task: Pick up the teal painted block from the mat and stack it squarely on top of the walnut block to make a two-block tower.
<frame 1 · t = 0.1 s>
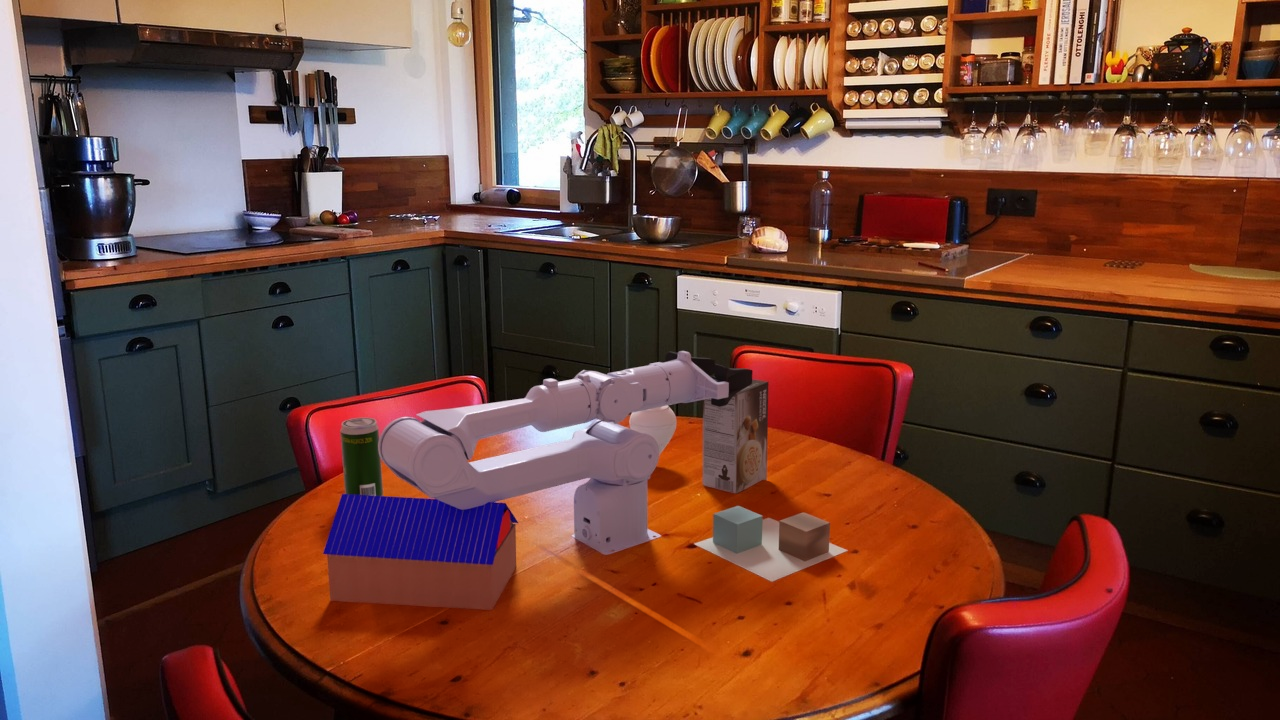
hand: (731, 371, 137), 20 cm above the table, tool horizontal, fingers open, 7 cm apart
teal block: (737, 543, 126), point 1 cm above the table, touching mat
beer can: (364, 501, 143), on the table
mat: (770, 551, 125), on the table
spinning top: (652, 465, 158), on the table
house: (427, 590, 117), on the table, touching arm
walnut block: (803, 550, 124), point 1 cm above the table, touching mat
coffee box: (734, 486, 149), on the table
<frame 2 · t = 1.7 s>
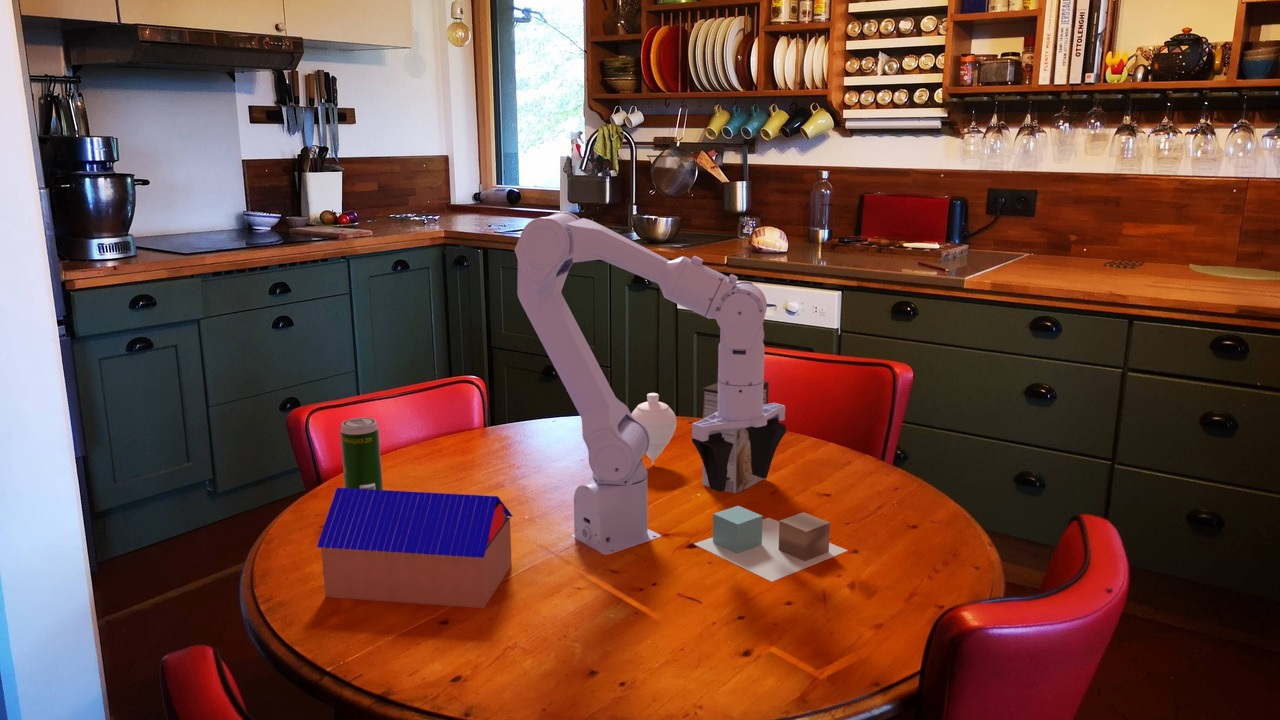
hand: (738, 482, 124), 9 cm above the table, tool pointing down, fingers open, 7 cm apart
house: (421, 583, 118), on the table
everything else where it was.
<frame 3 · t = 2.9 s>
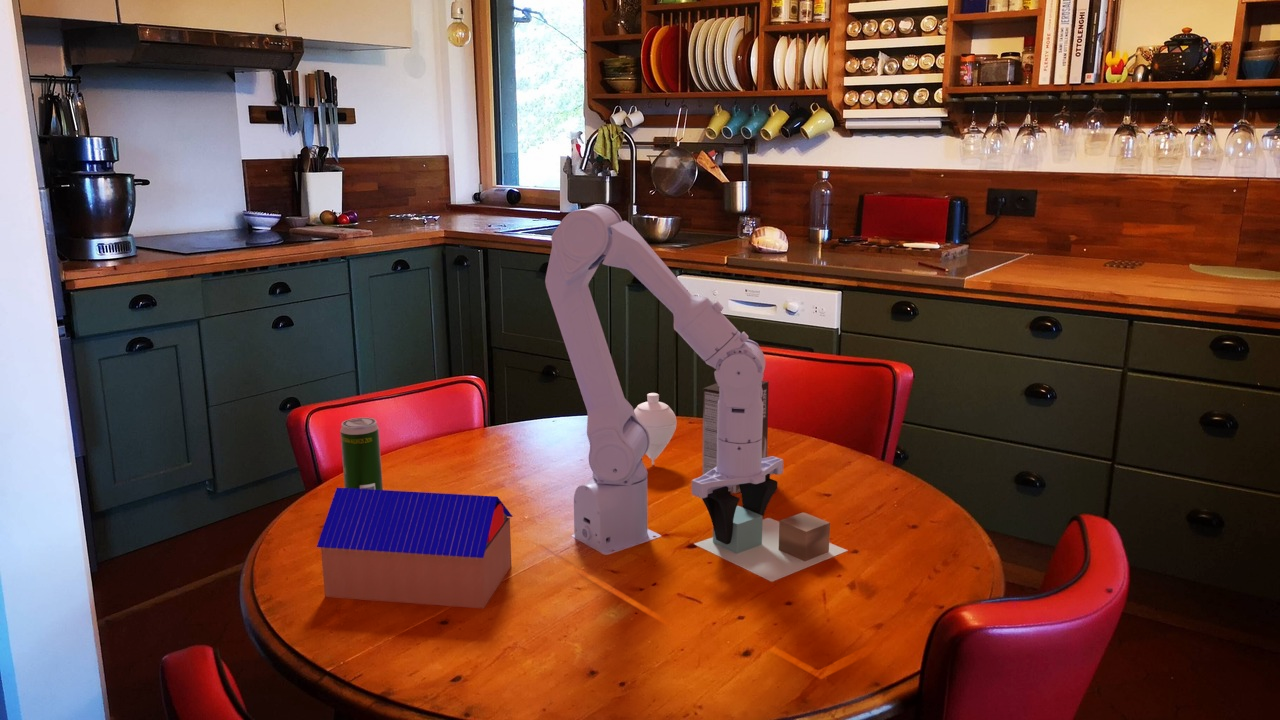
hand: (737, 536, 126), 2 cm above the table, tool pointing down, fingers closed on teal block, 4 cm apart
teal block: (737, 543, 126), point 1 cm above the table, touching gripper, mat
everything else where it was.
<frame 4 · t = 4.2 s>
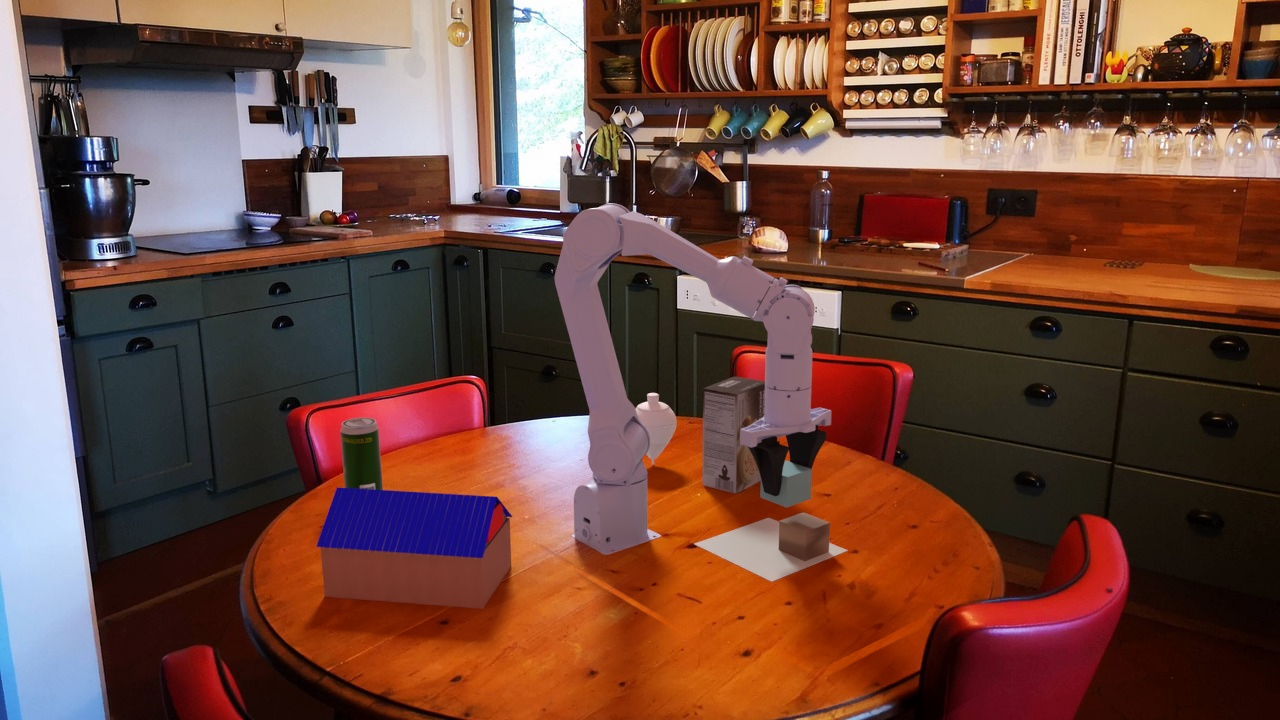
hand: (785, 488, 123), 9 cm above the table, tool pointing down, fingers closed on teal block, 4 cm apart
teal block: (785, 498, 123), point 8 cm above the table, touching gripper
everything else where it was.
when the fingers open (7 cm above the table, at t = 5.3 s): teal block stays where it is, resting on walnut block.
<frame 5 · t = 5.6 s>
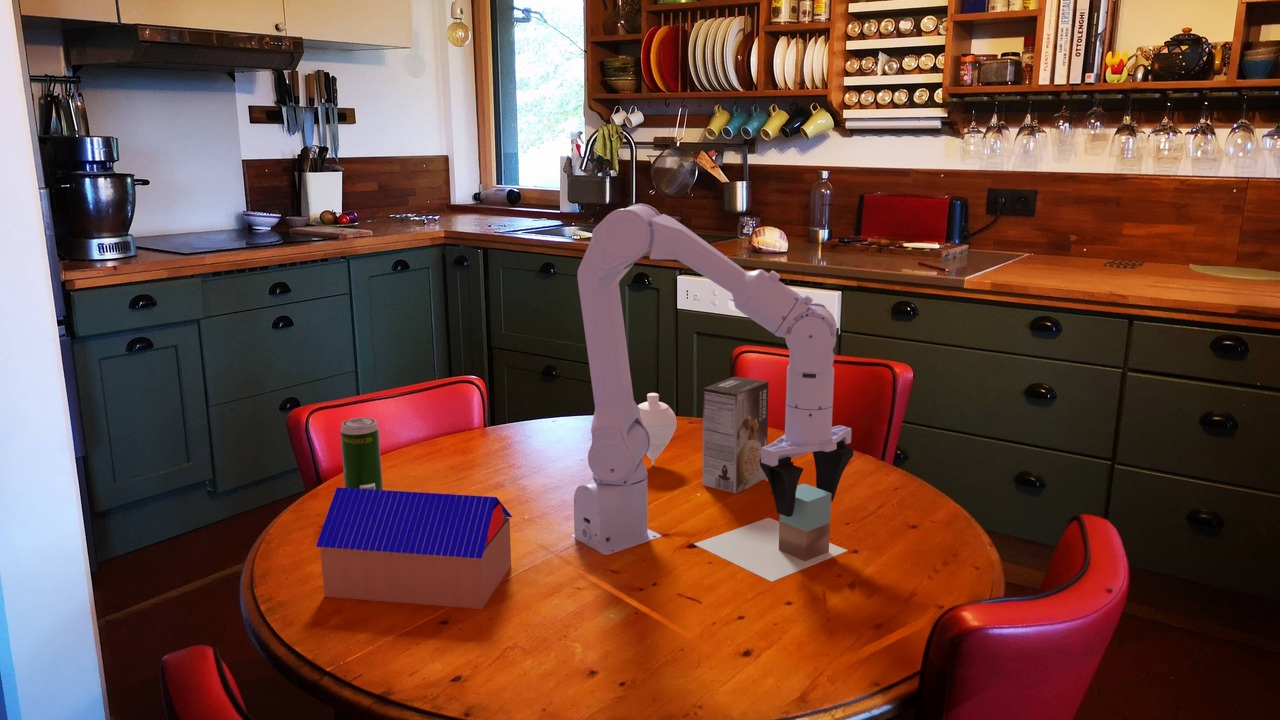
hand: (805, 506, 123), 7 cm above the table, tool pointing down, fingers open, 7 cm apart
teal block: (804, 521, 123), point 5 cm above the table, touching walnut block
walnut block: (803, 550, 124), point 1 cm above the table, touching mat, teal block
everything else where it was.
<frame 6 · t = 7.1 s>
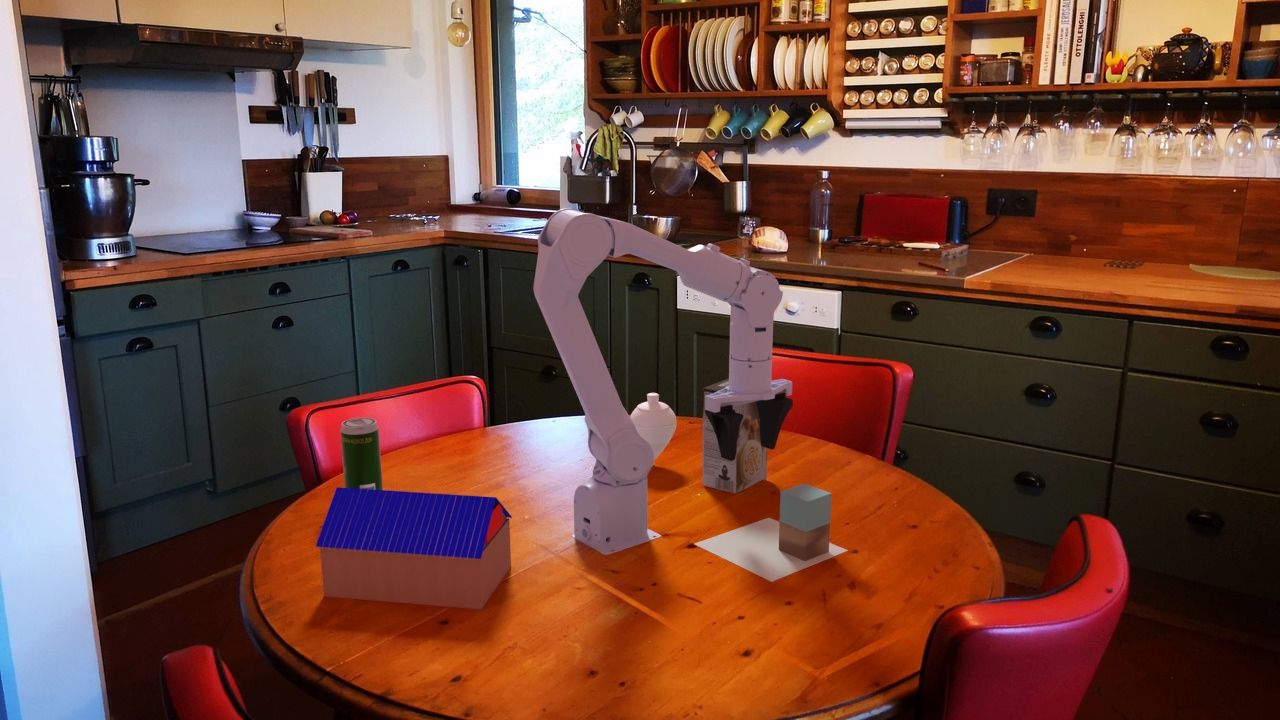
hand: (748, 452, 133), 10 cm above the table, tool pointing down, fingers open, 7 cm apart
nothing on the table moved.
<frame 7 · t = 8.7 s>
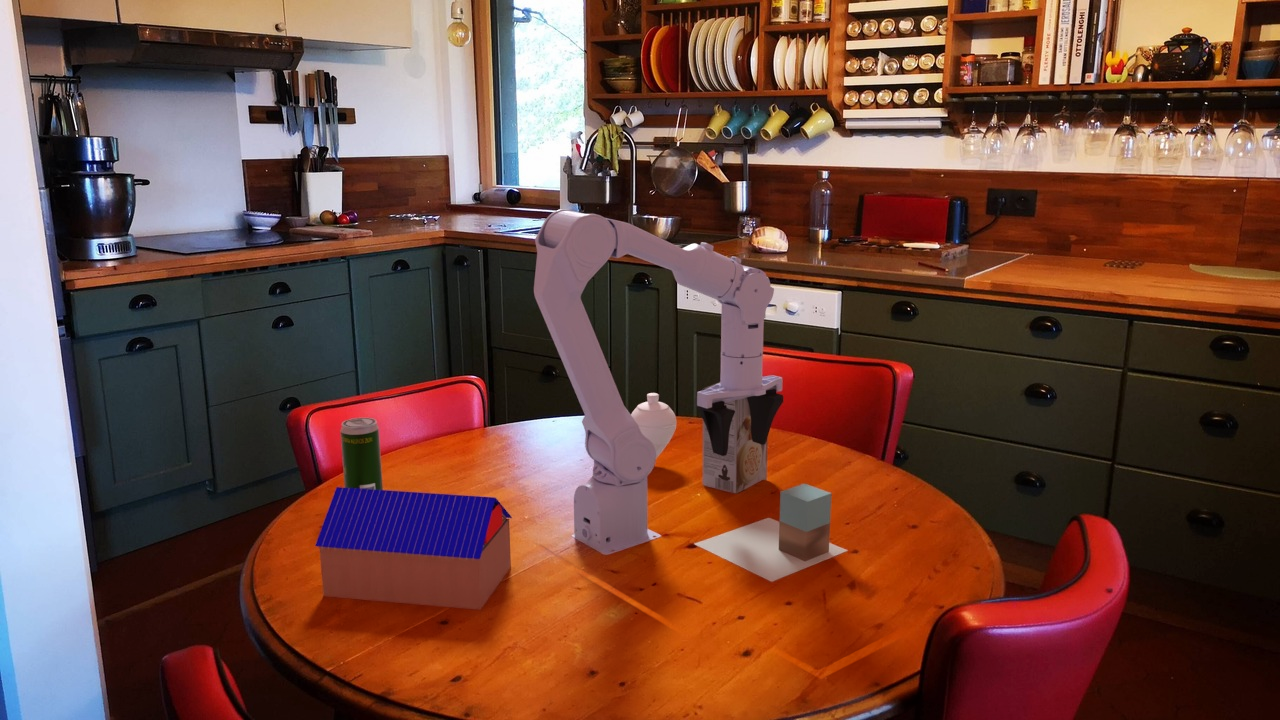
hand: (739, 448, 135), 10 cm above the table, tool pointing down, fingers open, 7 cm apart
nothing on the table moved.
at the end: teal block 0.1 cm off-centre on the walnut block, point 4.0 cm above the walnut block's base; teal block tilted 0°; teal block touching walnut block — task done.
